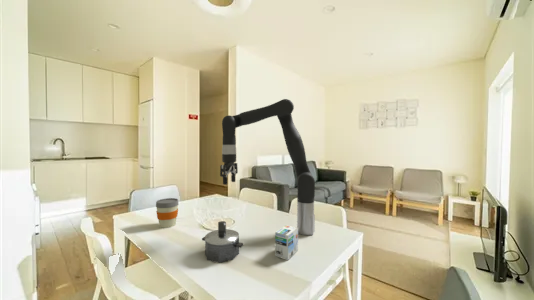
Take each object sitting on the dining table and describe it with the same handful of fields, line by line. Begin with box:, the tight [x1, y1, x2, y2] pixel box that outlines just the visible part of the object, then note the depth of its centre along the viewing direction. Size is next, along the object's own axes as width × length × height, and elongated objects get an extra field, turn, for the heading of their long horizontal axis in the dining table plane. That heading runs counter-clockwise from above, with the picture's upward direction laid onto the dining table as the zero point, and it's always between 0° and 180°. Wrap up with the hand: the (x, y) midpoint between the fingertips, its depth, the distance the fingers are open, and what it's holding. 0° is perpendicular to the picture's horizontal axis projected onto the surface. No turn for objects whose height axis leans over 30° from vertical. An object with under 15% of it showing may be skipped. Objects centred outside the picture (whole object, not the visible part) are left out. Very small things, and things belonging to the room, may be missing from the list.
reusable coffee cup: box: [155, 197, 179, 229], centre depth 135 cm, size 13×13×15 cm
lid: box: [204, 220, 240, 246], centre depth 100 cm, size 15×15×8 cm
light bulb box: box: [274, 225, 299, 261], centre depth 101 cm, size 11×7×11 cm, turn 148°
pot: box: [201, 236, 244, 264], centre depth 100 cm, size 20×14×7 cm
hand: (229, 183), depth 121 cm, fingers open, 8 cm apart
